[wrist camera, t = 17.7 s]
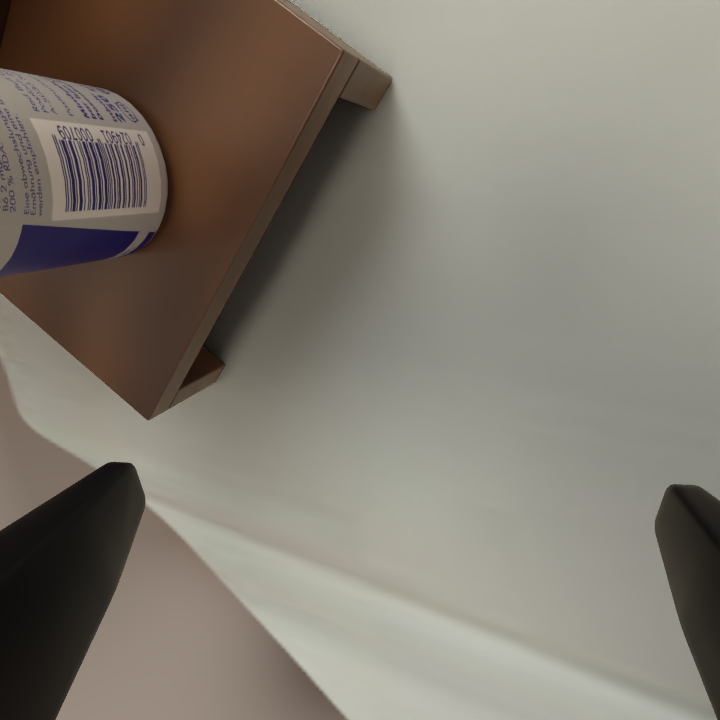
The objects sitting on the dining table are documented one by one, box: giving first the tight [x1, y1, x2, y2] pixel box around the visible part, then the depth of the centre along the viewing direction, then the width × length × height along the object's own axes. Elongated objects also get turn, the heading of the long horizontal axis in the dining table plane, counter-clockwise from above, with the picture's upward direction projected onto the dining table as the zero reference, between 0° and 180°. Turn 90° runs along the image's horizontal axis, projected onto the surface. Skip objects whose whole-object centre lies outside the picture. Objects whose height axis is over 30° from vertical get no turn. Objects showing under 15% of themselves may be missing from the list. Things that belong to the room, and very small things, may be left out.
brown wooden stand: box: [0, 0, 392, 420], centre depth 17 cm, size 12×15×11 cm
